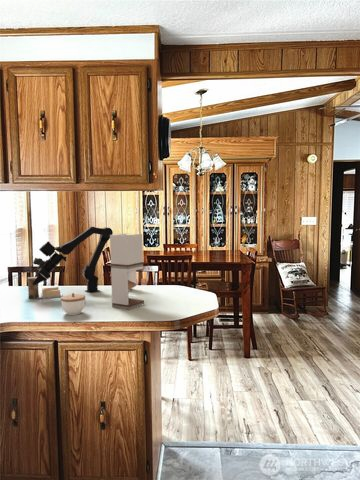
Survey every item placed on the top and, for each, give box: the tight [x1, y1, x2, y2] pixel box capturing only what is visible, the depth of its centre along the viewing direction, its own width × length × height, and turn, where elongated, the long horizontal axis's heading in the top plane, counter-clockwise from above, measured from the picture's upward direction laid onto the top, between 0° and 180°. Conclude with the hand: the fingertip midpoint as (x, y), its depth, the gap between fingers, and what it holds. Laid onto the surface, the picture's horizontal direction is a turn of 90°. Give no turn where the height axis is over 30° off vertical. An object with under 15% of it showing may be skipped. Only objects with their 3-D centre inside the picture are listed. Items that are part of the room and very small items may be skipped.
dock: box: [40, 286, 64, 300], centre depth 205 cm, size 11×12×4 cm
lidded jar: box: [60, 292, 86, 316], centre depth 167 cm, size 11×11×9 cm
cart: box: [27, 276, 40, 300], centre depth 201 cm, size 5×6×11 cm
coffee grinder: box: [109, 233, 145, 311], centre depth 178 cm, size 11×11×35 cm
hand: (32, 283), depth 201 cm, fingers open, 9 cm apart
